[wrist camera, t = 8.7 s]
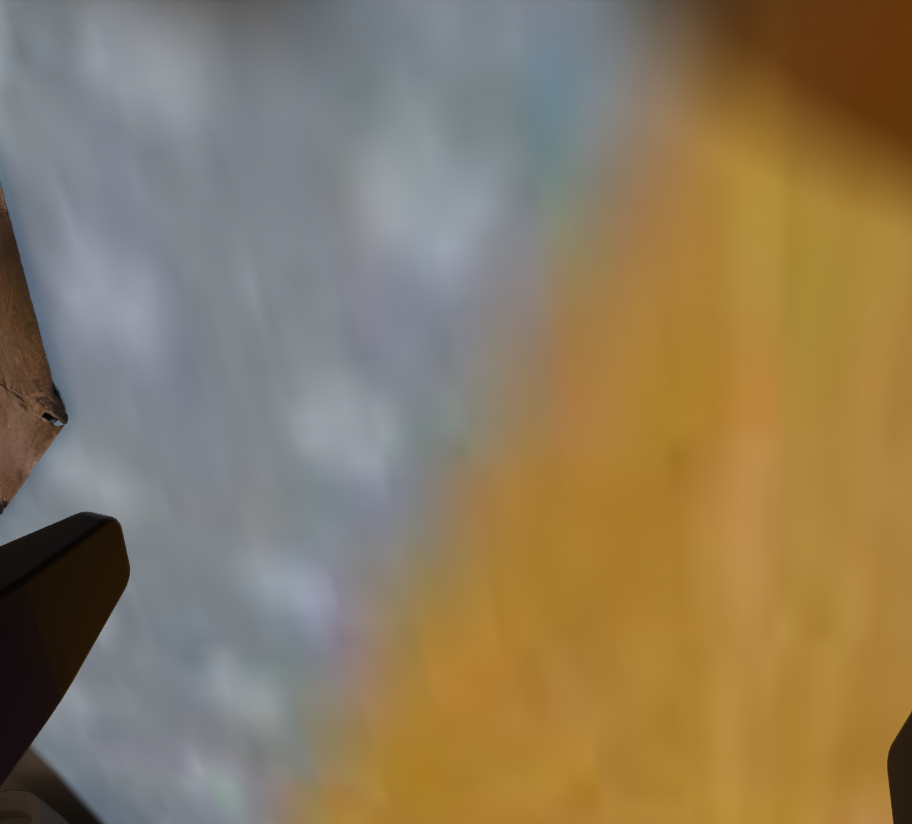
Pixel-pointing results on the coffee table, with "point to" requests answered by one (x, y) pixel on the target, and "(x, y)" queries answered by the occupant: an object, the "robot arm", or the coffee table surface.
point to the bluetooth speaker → (26, 809)
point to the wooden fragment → (21, 374)
